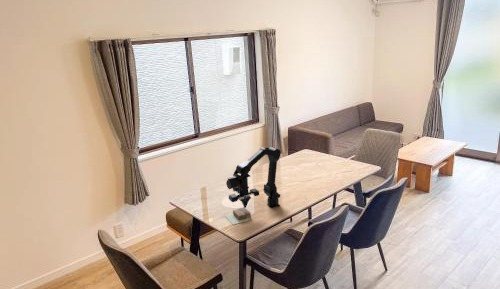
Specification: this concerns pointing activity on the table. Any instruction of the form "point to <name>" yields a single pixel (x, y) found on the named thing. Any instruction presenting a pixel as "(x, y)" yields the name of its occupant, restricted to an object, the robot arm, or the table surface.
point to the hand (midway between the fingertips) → (244, 207)
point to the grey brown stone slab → (241, 213)
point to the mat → (235, 219)
